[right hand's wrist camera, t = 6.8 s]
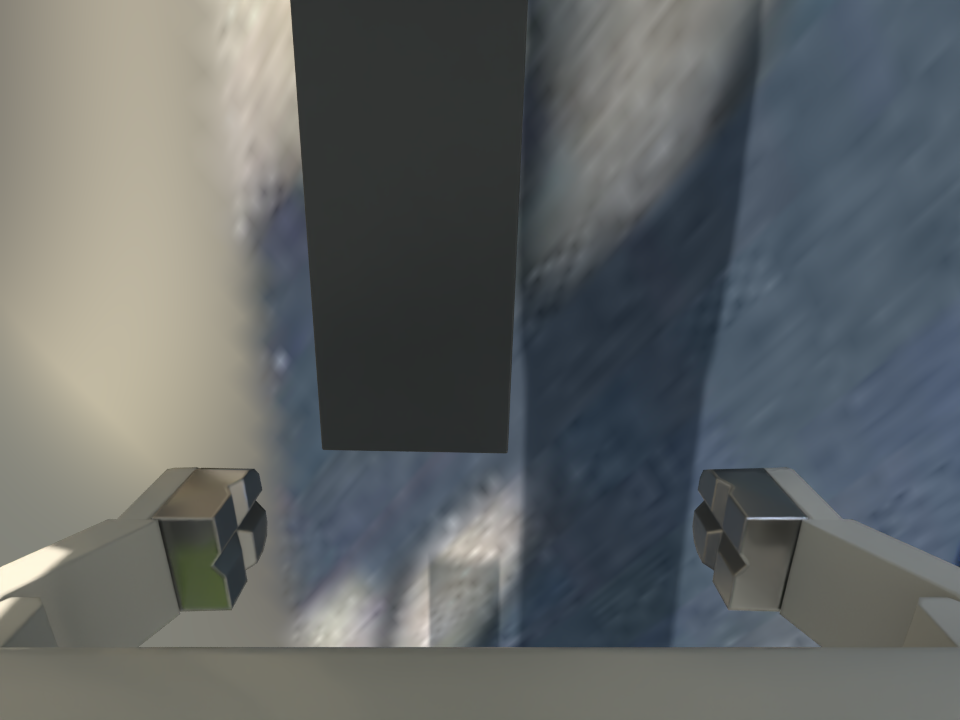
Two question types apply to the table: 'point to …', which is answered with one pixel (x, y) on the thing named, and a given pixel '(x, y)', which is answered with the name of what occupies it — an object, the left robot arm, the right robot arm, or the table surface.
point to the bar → (412, 216)
